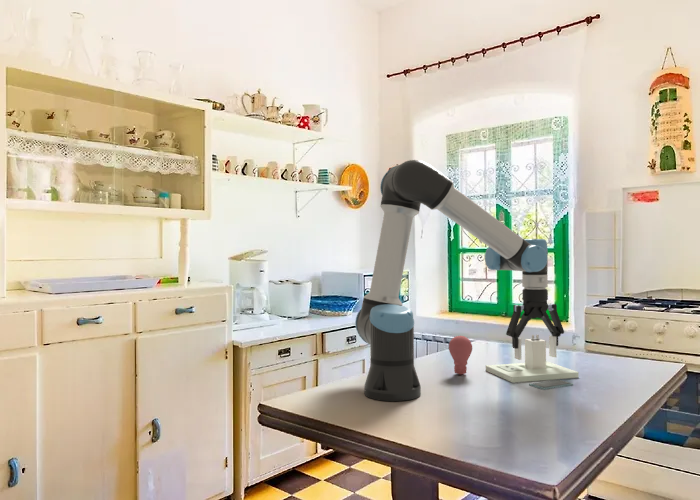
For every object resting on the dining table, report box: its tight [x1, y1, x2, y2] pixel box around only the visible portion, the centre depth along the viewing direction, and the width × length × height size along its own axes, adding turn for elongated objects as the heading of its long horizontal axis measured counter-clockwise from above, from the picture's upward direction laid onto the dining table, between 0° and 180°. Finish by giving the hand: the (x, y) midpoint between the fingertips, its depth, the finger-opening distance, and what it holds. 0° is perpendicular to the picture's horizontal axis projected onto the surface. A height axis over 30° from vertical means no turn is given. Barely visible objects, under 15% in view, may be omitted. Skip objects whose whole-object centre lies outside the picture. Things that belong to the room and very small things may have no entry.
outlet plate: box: [485, 360, 580, 384], centre depth 169 cm, size 22×16×2 cm
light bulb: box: [448, 335, 473, 376], centre depth 169 cm, size 7×7×12 cm
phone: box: [528, 379, 574, 391], centre depth 156 cm, size 11×6×1 cm, turn 115°
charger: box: [524, 334, 547, 370], centre depth 172 cm, size 4×4×12 cm
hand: (535, 357), depth 172 cm, fingers open, 11 cm apart
